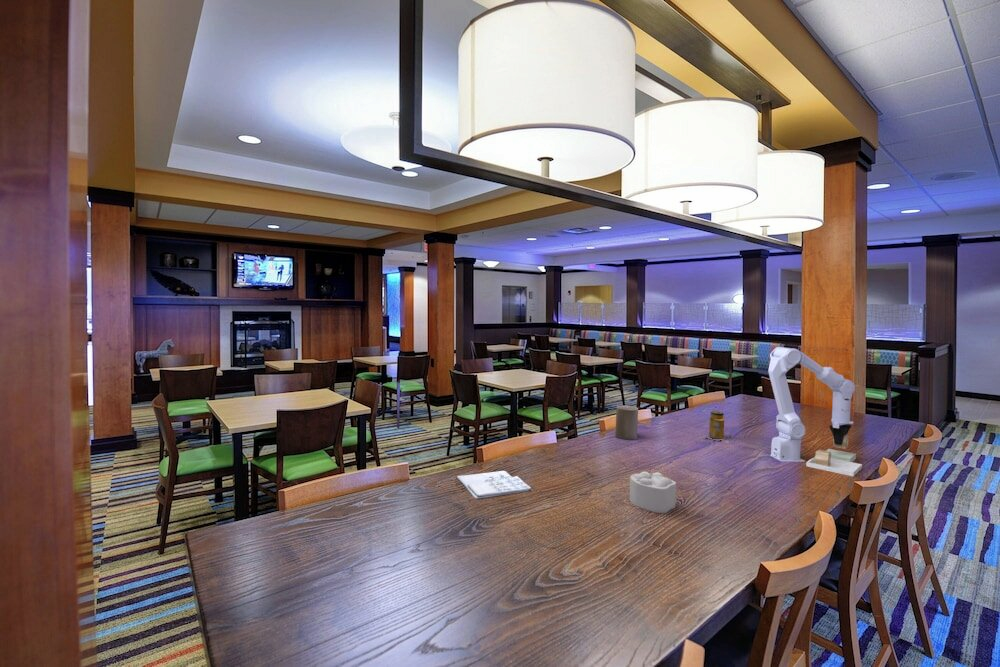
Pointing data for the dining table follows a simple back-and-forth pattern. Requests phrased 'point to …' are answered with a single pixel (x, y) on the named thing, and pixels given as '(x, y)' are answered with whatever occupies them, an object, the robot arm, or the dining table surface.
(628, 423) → the pillar candle
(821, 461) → the plain block
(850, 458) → the sage stand
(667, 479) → the lumpy-topped squat cylinder
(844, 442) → the labelled block
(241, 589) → the dining table surface
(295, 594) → the dining table surface
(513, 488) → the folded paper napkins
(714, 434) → the condiment
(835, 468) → the parts tray
